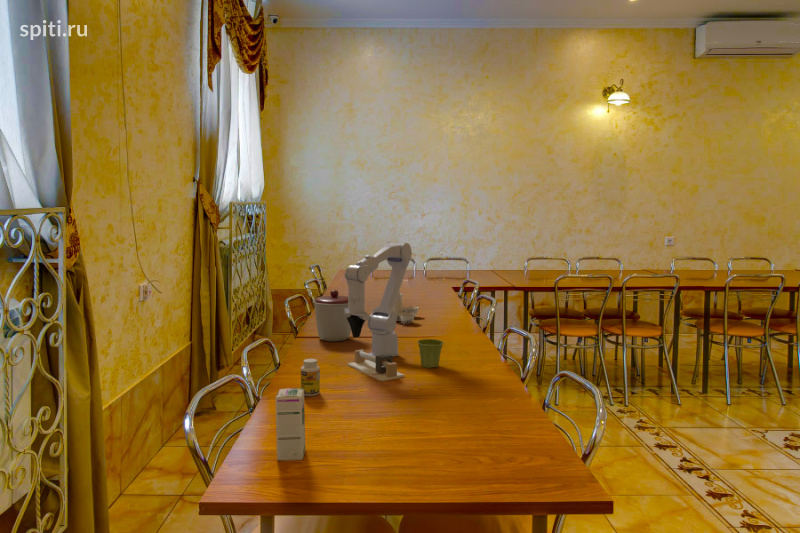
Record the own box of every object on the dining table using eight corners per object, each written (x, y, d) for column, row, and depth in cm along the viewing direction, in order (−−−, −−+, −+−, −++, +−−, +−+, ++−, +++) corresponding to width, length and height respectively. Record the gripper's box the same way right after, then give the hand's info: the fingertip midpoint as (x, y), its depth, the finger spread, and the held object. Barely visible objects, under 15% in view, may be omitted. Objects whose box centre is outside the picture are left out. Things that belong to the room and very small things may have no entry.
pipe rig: (347, 365, 198) (347, 351, 198) (369, 361, 203) (369, 348, 203) (381, 381, 180) (381, 365, 180) (404, 376, 185) (404, 361, 185)
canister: (344, 345, 228) (345, 294, 225) (305, 341, 233) (304, 291, 231) (362, 336, 245) (362, 288, 243) (324, 333, 250) (324, 286, 248)
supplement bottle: (297, 395, 165) (297, 361, 164) (306, 390, 171) (306, 357, 170) (314, 397, 164) (314, 363, 163) (322, 392, 169) (322, 358, 168)
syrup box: (303, 460, 123) (302, 395, 121) (275, 461, 122) (275, 396, 121) (305, 449, 128) (305, 387, 127) (279, 449, 128) (278, 388, 126)
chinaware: (417, 329, 268) (421, 295, 266) (382, 325, 268) (386, 291, 266) (417, 318, 296) (421, 287, 294) (386, 314, 296) (389, 283, 294)
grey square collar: (375, 371, 187) (375, 356, 186) (388, 369, 189) (388, 353, 189) (379, 373, 185) (379, 357, 184) (392, 370, 188) (392, 355, 187)
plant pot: (447, 364, 201) (447, 340, 201) (437, 371, 193) (438, 346, 192) (422, 361, 205) (423, 337, 204) (412, 367, 197) (413, 343, 196)
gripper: (336, 297, 202) (336, 334, 203) (357, 302, 190) (356, 342, 191) (353, 295, 206) (353, 332, 207) (374, 301, 194) (374, 339, 195)
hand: (356, 336), depth 199 cm, fingers closed
